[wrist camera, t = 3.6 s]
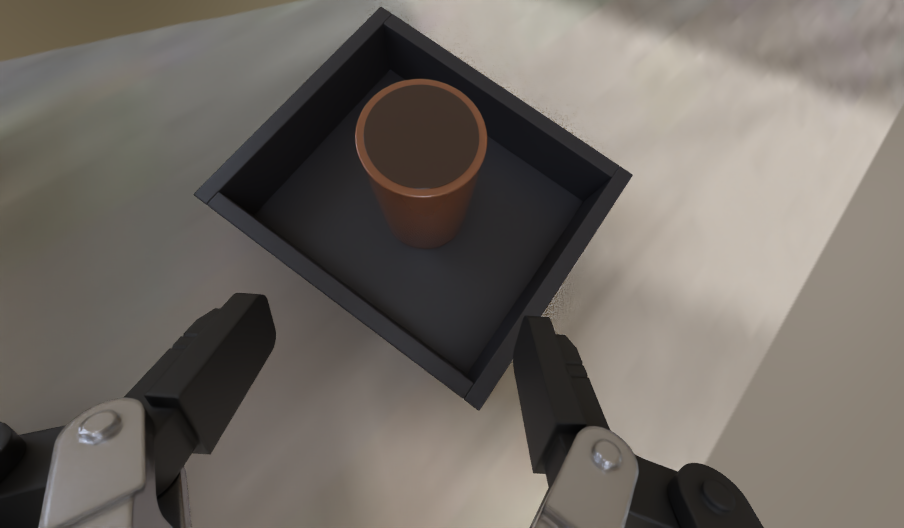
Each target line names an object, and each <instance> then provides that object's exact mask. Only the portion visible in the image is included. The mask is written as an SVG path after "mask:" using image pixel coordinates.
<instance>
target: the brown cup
mask: <svg viewBox="0 0 904 528" xmlns="http://www.w3.org/2000/svg"><path fill="white" fill-rule="evenodd" d="M355 145H356V150H357V154H358V157H359V160H360V162H361V165H362V167H363V169H364V172H365V174H366V177H367V179H368V182H369V184H370V187H371V189H372V192H373V194H374V197H375V199H376V202H377V204H378V207H379V209H380V211H381V214H382V216H383V219H384V221H385V224H386V226H387V228H388V229H389V231H390V232H391V233H392V235H393V236H394V237H395V238H397V239H398V240H399V241H401V242H402V243H404V244H406V245H408V246H411V247H414V248H419V249H431V248H436V247H439V246H442V245H444V244H446V243H448V242H449V241H451V240H452V239H453V238H454V237H456V235H457V234H458V233H459V232H460V230H461V229H462V227H463V225H464V223H465V220H466V216H467V213H468V210H469V207H470V203H471V200H472V197H473V194H474V190H475V187H476V184H477V181H478V177H479V174H480V171H481V168H482V164H483V161H484V158H485V155H486V150H487V130H486V126H485V122H484V120H483V118H482V115H481V113H480V112H479V110H478V108H477V107H476V106H475V104H474V103H473V102H472V101H471V100H470V99H469V98H468V97H467V96H466V95H465V94H463V93H462V92H461V91H459V90H457V89H456V88H454V87H452V86H450V85H448V84H445V83H442V82H439V81H435V80H429V79H411V80H405V81H401V82H397V83H395V84H392V85H390V86H388V87H386V88H384V89H382V90H381V91H380V92H378V93H377V94H376V95H374V96H373V97H372V98H371V99H370V100H369V102H368V103H367V104H366V105H365V107H364V108H363V110H362V112H361V114H360V116H359V119H358V121H357V125H356V131H355Z"/></svg>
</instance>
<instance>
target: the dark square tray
mask: <svg viewBox="0 0 904 528" xmlns="http://www.w3.org/2000/svg"><path fill="white" fill-rule="evenodd" d="M411 79H429V80H435V81H439V82H442V83H445V84H448V85H450V86H452V87H454V88H456V89H457V90H459V91H461V92H462V93H463V94H465V95H466V96H467V97H468V98H469V99H470V100H471V101H472V102H473V103H474V104H475V106H476V107H477V108H478V110H479V112H480V113H481V115H482V118H483V120H484V122H485V126H486V130H487V150H486V155H485V158H484V161H483V164H482V168H481V171H480V174H479V177H478V181H477V184H476V187H475V190H474V194H473V197H472V200H471V203H470V207H469V210H468V213H467V216H466V220H465V223H464V225H463V227H462V229H461V230H460V232H459V233H458V234H457V235H456V237H454V238H453V239H452V240H451V241H449V242H448V243H446V244H444V245H442V246H439V247H436V248H431V249H419V248H414V247H411V246H408V245H406V244H404V243H402V242H401V241H399V240H398V239H397V238H395V237H394V236H393V235H392V233H391V232H390V231H389V229H388V228H387V226H386V224H385V221H384V219H383V216H382V214H381V211H380V209H379V207H378V204H377V202H376V199H375V197H374V194H373V192H372V189H371V187H370V184H369V182H368V179H367V177H366V174H365V172H364V169H363V167H362V165H361V162H360V160H359V157H358V154H357V150H356V145H355V131H356V125H357V121H358V119H359V116H360V114H361V112H362V110H363V108H364V107H365V105H366V104H367V103H368V102H369V100H370V99H371V98H372V97H373V96H374V95H376V94H377V93H378V92H380V91H381V90H382V89H384V88H386V87H388V86H390V85H392V84H395V83H397V82H401V81H405V80H411ZM632 176H633V175H632V174H631V173H629V172H628V171H626V170H625V169H623V168H622V167H620V166H619V165H617V164H616V163H614V162H613V161H611V160H610V159H608V158H607V157H605V156H604V155H602V154H601V153H599V152H598V151H596V150H595V149H593V148H592V147H590V146H589V145H588V144H586V143H585V142H583V141H582V140H580V139H579V138H577V137H576V136H574V135H573V134H571V133H570V132H568V131H567V130H565V129H564V128H562V127H561V126H559V125H558V124H556V123H555V122H553V121H552V120H550V119H549V118H547V117H546V116H544V115H543V114H541V113H540V112H538V111H537V110H535V109H534V108H532V107H531V106H529V105H528V104H526V103H525V102H523V101H522V100H520V99H519V98H517V97H516V96H514V95H513V94H511V93H510V92H508V91H507V90H505V89H504V88H502V87H501V86H499V85H498V84H496V83H495V82H493V81H492V80H490V79H489V78H487V77H486V76H484V75H483V74H481V73H480V72H478V71H477V70H475V69H474V68H472V67H471V66H469V65H468V64H466V63H465V62H463V61H462V60H460V59H459V58H457V57H456V56H454V55H453V54H452V53H450V52H449V51H447V50H446V49H444V48H443V47H441V46H440V45H438V44H437V43H435V42H434V41H432V40H431V39H429V38H428V37H426V36H425V35H423V34H422V33H420V32H419V31H417V30H416V29H414V28H413V27H411V26H410V25H408V24H407V23H405V22H404V21H402V20H401V19H399V18H398V17H396V16H395V15H393V14H391V13H390V12H388V11H387V10H385V9H384V8H382V7H380V8H379V9H378V10H377V11H376V12H375V13H374V14H373V15H372V16H371V17H370V18H369V19H368V20H367V21H366V22H365V23H364V24H363V25H362V26H361V27H360V28H359V29H358V30H357V31H356V32H355V33H354V34H353V35H352V36H351V37H350V38H349V39H348V40H347V41H346V42H345V43H344V44H343V45H342V46H341V47H340V48H339V49H338V50H337V51H336V52H335V53H334V54H333V55H332V56H331V57H330V58H329V59H328V60H327V61H326V62H325V63H324V64H323V65H322V66H321V67H320V68H319V69H318V70H317V71H316V72H315V73H314V74H313V75H312V76H311V77H310V78H309V79H308V80H307V81H306V82H305V83H304V84H303V85H302V86H301V87H300V88H299V89H298V90H297V91H296V92H295V93H294V94H293V95H292V96H291V97H290V98H289V99H288V100H287V101H286V102H285V103H284V104H283V105H282V106H281V107H280V108H279V109H278V110H277V111H276V112H275V113H274V114H273V115H272V116H271V117H270V118H269V119H268V120H267V121H266V122H265V123H264V124H263V125H262V126H261V127H260V128H259V129H258V130H257V131H256V132H255V133H254V134H253V135H252V136H251V137H250V138H249V139H248V140H247V141H246V142H245V143H244V144H243V145H242V146H241V147H240V148H239V149H238V150H237V151H236V152H235V153H234V154H233V155H232V156H231V157H230V158H229V159H228V160H227V161H226V162H225V163H224V164H223V165H222V166H221V167H220V168H219V169H218V170H217V171H216V172H215V173H214V174H213V175H212V176H211V177H210V178H209V179H208V180H207V181H206V182H205V183H204V184H203V185H202V186H201V187H200V188H199V189H198V190H197V191H196V192H195V193H194V196H196V197H197V198H198V199H200V200H201V201H202V202H204V203H205V204H206V205H208V206H209V207H210V208H211V209H213V210H214V211H215V212H217V213H218V214H219V215H221V216H222V217H223V218H225V219H226V220H227V221H229V222H230V223H231V224H233V225H234V226H235V227H237V228H238V229H239V230H241V231H242V232H243V233H245V234H246V235H247V236H248V237H250V238H251V239H252V240H254V241H255V242H256V243H258V244H259V245H260V246H262V247H263V248H264V249H266V250H267V251H268V252H270V253H271V254H272V255H274V256H275V257H276V258H278V259H279V260H280V261H282V262H283V263H284V264H286V265H287V266H288V267H289V268H291V269H292V270H293V271H295V272H296V273H297V274H299V275H300V276H301V277H303V278H304V279H305V280H307V281H308V282H309V283H311V284H312V285H313V286H315V287H316V288H317V289H319V290H320V291H321V292H323V293H324V294H325V295H327V296H328V297H329V298H330V299H332V300H333V301H334V302H336V303H337V304H338V305H340V306H341V307H342V308H344V309H345V310H346V311H348V312H349V313H350V314H352V315H353V316H354V317H356V318H357V319H358V320H360V321H361V322H362V323H364V324H365V325H366V326H367V327H369V328H370V329H371V330H373V331H374V332H375V333H377V334H378V335H379V336H381V337H382V338H383V339H385V340H386V341H387V342H389V343H390V344H391V345H393V346H394V347H395V348H397V349H398V350H399V351H401V352H402V353H403V354H405V355H406V356H407V357H408V358H410V359H411V360H412V361H414V362H415V363H416V364H418V365H419V366H420V367H422V368H423V369H424V370H426V371H427V372H428V373H430V374H431V375H432V376H434V377H435V378H436V379H438V380H439V381H440V382H442V383H443V384H444V385H445V386H447V387H448V388H449V389H451V390H452V391H453V392H455V393H456V394H457V395H459V396H460V397H461V398H464V400H465V401H467V402H468V403H469V404H470V405H472V406H473V407H474V408H476V409H477V410H478V411H479V410H480V409H481V407H482V406H483V404H484V403H485V401H486V400H487V398H488V397H489V395H490V394H491V392H492V391H493V389H494V387H495V386H496V384H497V383H498V381H499V380H500V378H501V377H502V375H503V374H504V372H505V371H506V369H507V368H508V366H509V364H510V363H511V361H512V360H513V354H514V348H515V344H516V341H517V337H518V334H519V330H520V326H521V323H522V319H523V317H524V316H539V317H541V315H542V314H543V312H544V311H545V309H546V308H547V306H548V305H549V303H550V302H551V300H552V298H553V297H554V295H555V294H556V292H557V291H558V289H559V288H560V286H561V285H562V283H563V282H564V280H565V279H566V277H567V275H568V274H569V272H570V271H571V269H572V268H573V266H574V265H575V263H576V262H577V260H578V259H579V257H580V255H581V254H582V252H583V251H584V249H585V248H586V246H587V245H588V243H589V242H590V240H591V239H592V237H593V236H594V234H595V232H596V231H597V229H598V228H599V226H600V225H601V223H602V222H603V220H604V219H605V217H606V216H607V214H608V212H609V211H610V209H611V208H612V206H613V205H614V203H615V202H616V200H617V199H618V197H619V196H620V194H621V193H622V191H623V189H624V188H625V186H626V185H627V183H628V182H629V180H630V179H631V177H632Z"/></svg>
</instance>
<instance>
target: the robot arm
mask: <svg viewBox="0 0 904 528" xmlns="http://www.w3.org/2000/svg"><path fill="white" fill-rule="evenodd" d="M275 340H276V330H275V326H274V322H273V319H272V315H271V311H270V307H269V303H268V300H267V298H266V296H265V295H261V294H248V293H235V294H234V295H233V296H232V297H231V298H230V299H229V300H228V301H227V302H226V303H225V304H224V306H223V307H222V308H221V309H218V308H215V309H213V310H212V311H210V312H209V313H207V314H205V315H204V316H202V317H200V318H199V319H197V320H196V321H195V322H194V323H193V324H192V325H191V326H190V328H189V329H188V330H187V331H186V332H185V333H184V336H183V337H180V338H179V339H178V340H177V341H176V342H175V343H174V345H173V347H172V349H169V350H168V351H167V352H166V353H165V354H164V355H163V356H162V357H161V358H160V359H159V360H158V362H157V363H156V364H155V365H154V366H153V367H152V368H151V369H150V370H149V371H148V372H147V373H146V374H145V375H144V376H143V377H142V379H141V380H140V381H139V382H138V383H137V384H136V385H135V386H134V387H133V388H132V389H131V390H130V391H129V392H128V393H127V394H126V395H125V396H124V397H123V398H117V399H113V400H109V401H106V402H103V403H100V404H98V405H96V406H94V407H92V408H90V409H88V410H86V411H84V412H83V413H81V414H80V415H78V416H77V417H76V418H74V419H73V420H72V421H71V422H70V423H68V424H67V425H66V426H61V427H56V428H51V429H46V430H42V431H37V432H32V433H27V434H22V435H18V434H17V433H16V432H15V431H13V430H12V429H11V428H10V427H9V426H8V425H6V424H5V423H2V422H0V528H192V524H191V514H190V504H189V495H188V485H187V476H186V469H185V467H184V465H185V463H186V461H187V460H188V458H189V457H190V455H191V454H192V453H196V454H211V452H212V451H213V449H214V447H215V446H216V444H217V442H218V441H219V439H220V437H221V436H222V434H223V432H224V430H225V429H226V427H227V425H228V424H229V422H230V420H231V419H232V417H233V415H234V414H235V412H236V410H237V409H238V407H239V405H240V404H241V402H242V400H243V399H244V397H245V395H246V394H247V392H248V390H249V389H250V387H251V385H252V384H253V382H254V380H255V379H256V377H257V375H258V374H259V372H260V370H261V369H262V367H263V365H264V364H265V362H266V360H267V359H268V357H269V355H270V353H271V352H272V350H273V348H274V345H275ZM513 367H514V373H515V378H516V384H517V389H518V394H519V400H520V405H521V411H522V416H523V421H524V427H525V432H526V438H527V443H528V448H529V454H530V459H531V465H532V470H533V473H539V474H546V477H547V481H548V486H549V488H548V490H547V492H546V494H545V496H544V498H543V500H542V502H541V504H540V507H539V509H538V511H537V513H536V515H535V517H534V519H533V521H532V523H531V525H530V527H529V528H764V527H763V526H762V524H761V522H760V521H759V519H758V517H757V516H756V514H755V512H754V511H753V509H752V507H751V506H750V504H749V503H748V501H747V499H746V498H745V496H744V495H743V493H742V492H741V491H740V490H739V489H738V488H737V486H736V485H735V484H734V483H733V482H731V481H730V480H729V479H728V478H727V477H726V476H724V475H723V474H721V473H720V472H718V471H717V470H715V469H713V468H711V467H709V466H706V465H703V464H699V463H689V464H686V465H684V466H683V467H682V468H681V469H680V470H679V471H678V472H677V471H674V470H672V469H669V468H666V467H664V466H661V465H658V464H656V463H653V462H651V461H648V460H645V459H643V458H641V457H639V456H637V455H635V454H634V453H633V451H632V450H631V448H630V447H629V446H628V444H627V443H626V442H625V441H624V440H623V439H622V438H620V437H619V436H618V435H616V434H615V433H614V432H612V431H611V430H610V428H609V426H608V424H607V422H606V419H605V417H604V414H603V412H602V409H601V407H600V405H599V402H598V400H597V397H596V395H595V392H594V390H593V387H592V385H591V382H590V380H589V378H587V372H586V370H585V368H584V366H583V365H582V360H581V358H580V355H579V353H578V350H577V348H576V347H575V346H574V345H573V343H572V342H571V341H570V340H569V339H568V338H567V337H566V336H565V335H558V334H555V331H554V328H553V325H552V322H551V320H550V318H549V317H539V316H524V317H523V319H522V323H521V326H520V330H519V334H518V337H517V341H516V344H515V348H514V354H513Z"/></svg>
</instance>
